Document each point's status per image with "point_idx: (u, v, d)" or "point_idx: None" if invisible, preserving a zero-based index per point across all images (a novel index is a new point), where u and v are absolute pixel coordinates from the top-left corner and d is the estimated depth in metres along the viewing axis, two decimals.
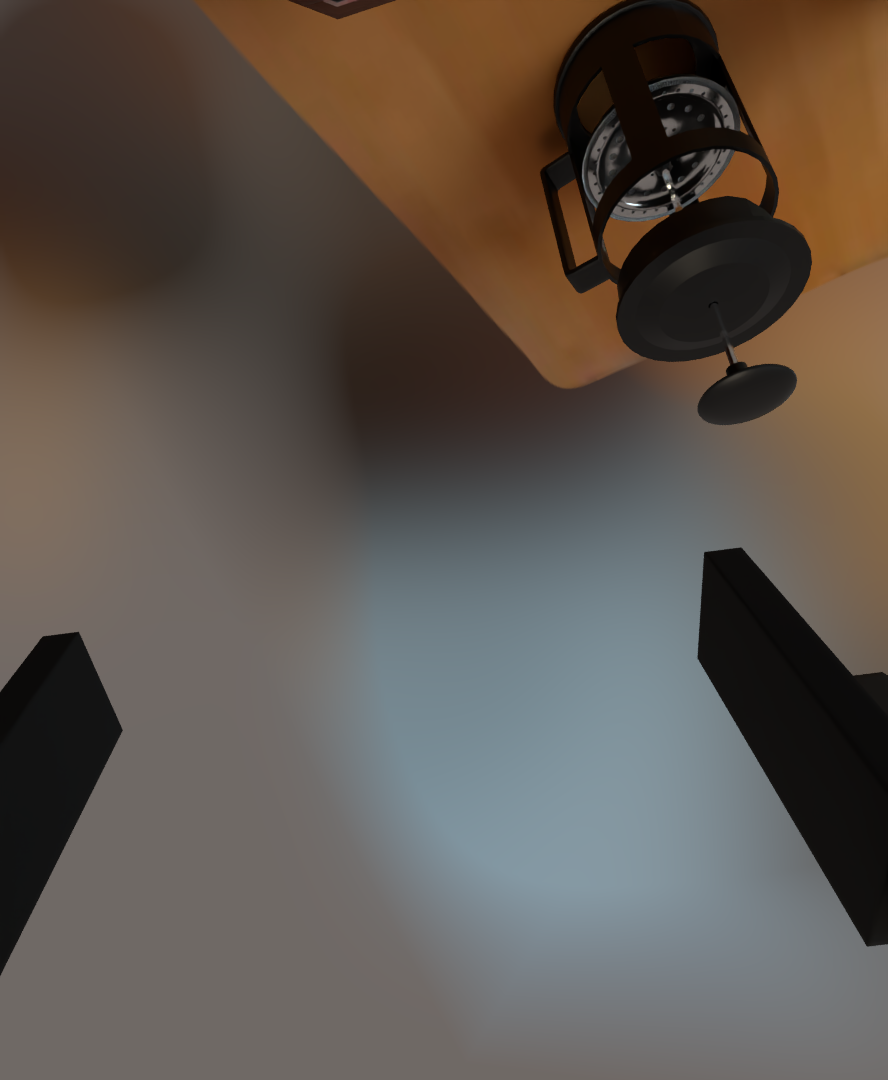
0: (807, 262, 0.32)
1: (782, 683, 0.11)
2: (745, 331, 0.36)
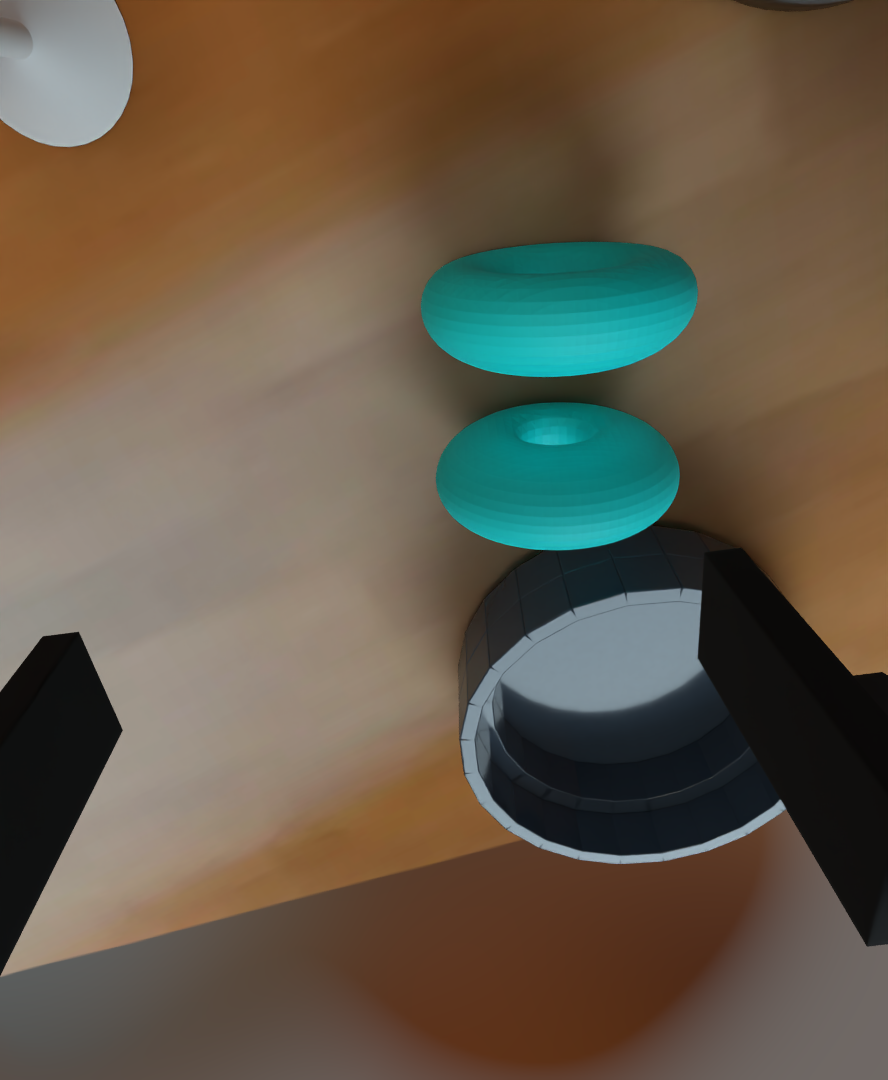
0: None
1: (782, 683, 0.11)
2: None
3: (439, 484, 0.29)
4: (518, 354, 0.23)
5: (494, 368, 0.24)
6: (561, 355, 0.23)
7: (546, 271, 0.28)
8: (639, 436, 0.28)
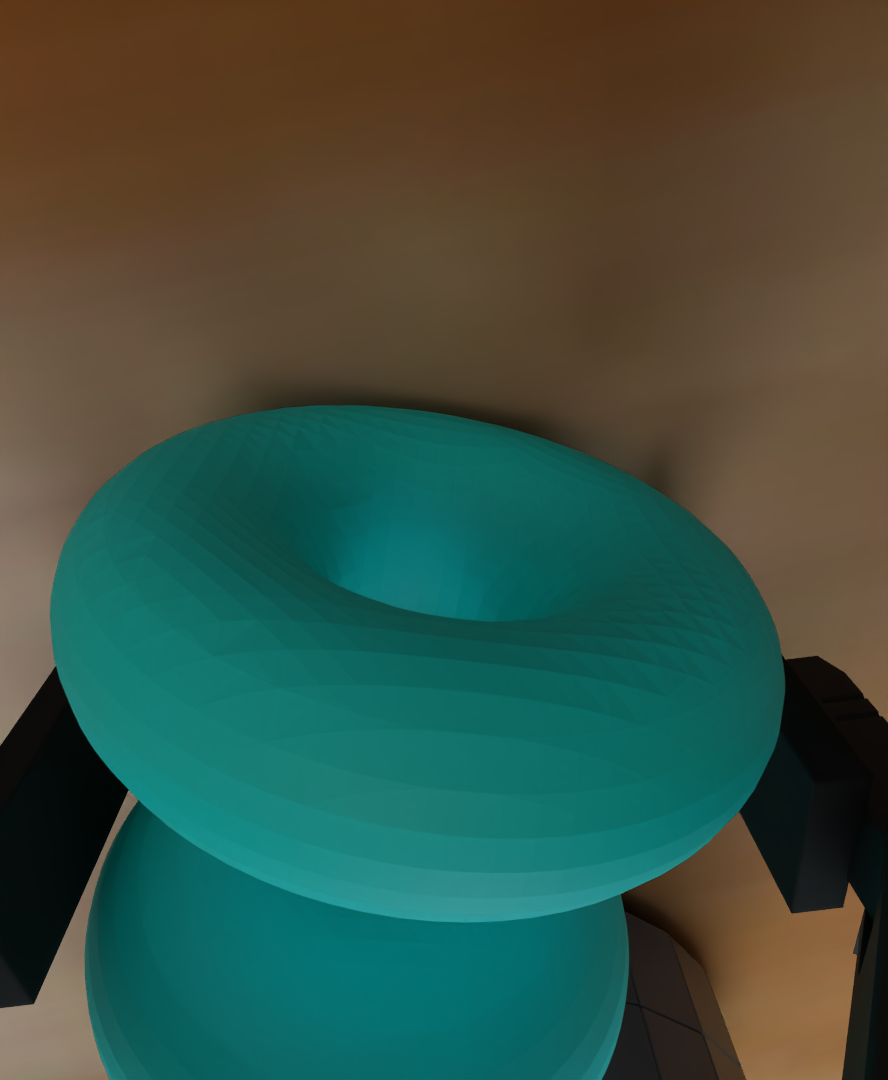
0: None
1: None
2: None
3: (89, 919, 0.12)
4: (254, 874, 0.07)
5: None
6: (391, 915, 0.07)
7: (429, 488, 0.12)
8: None
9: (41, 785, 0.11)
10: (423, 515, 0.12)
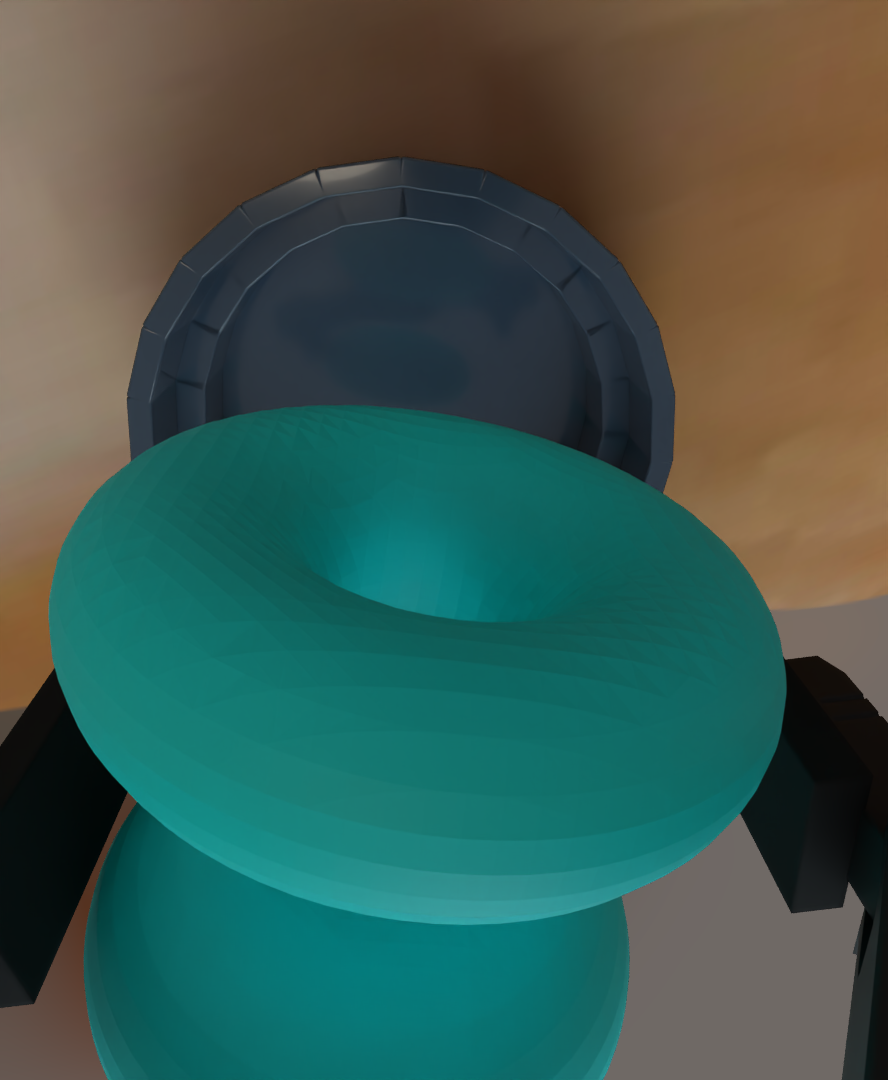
0: None
1: None
2: None
3: (88, 920, 0.12)
4: (253, 876, 0.07)
5: None
6: (391, 917, 0.07)
7: (429, 488, 0.12)
8: None
9: (41, 785, 0.11)
10: (423, 515, 0.12)
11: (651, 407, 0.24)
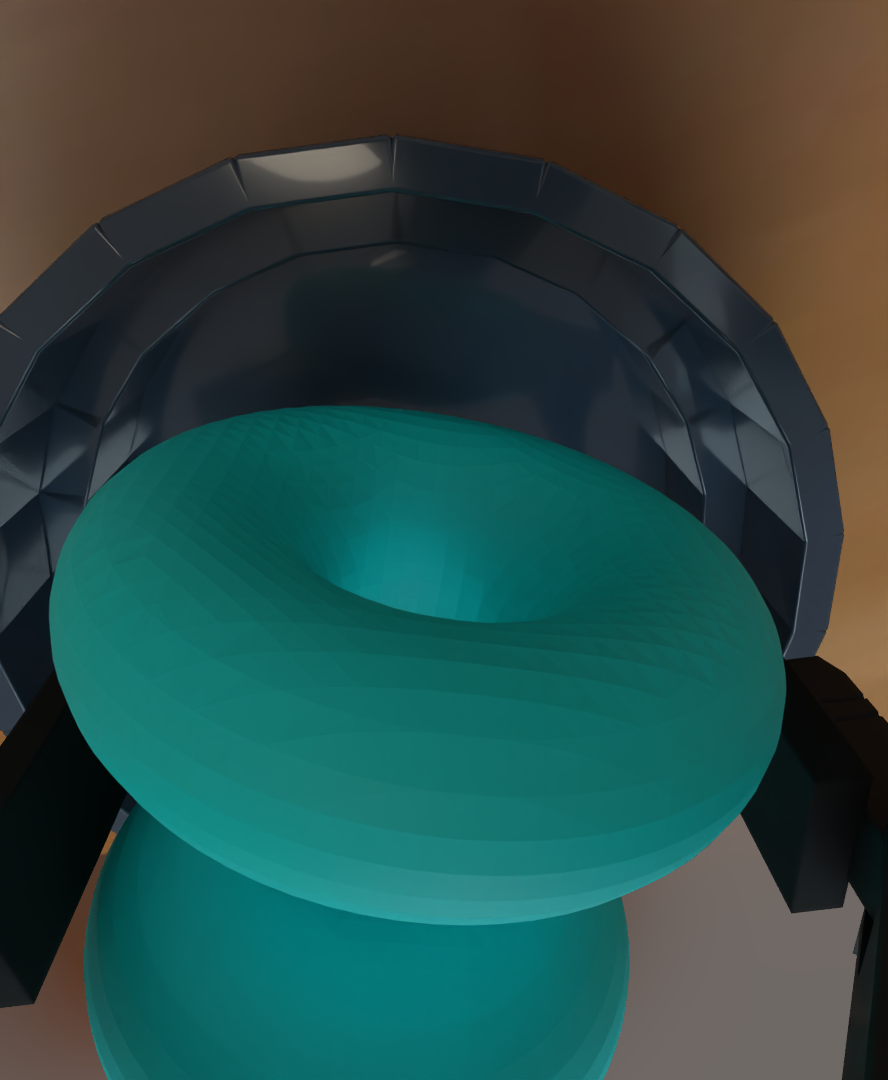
0: None
1: None
2: None
3: (88, 921, 0.12)
4: (253, 877, 0.07)
5: None
6: (391, 917, 0.07)
7: (429, 489, 0.12)
8: None
9: (41, 785, 0.11)
10: (423, 515, 0.12)
11: (803, 552, 0.15)
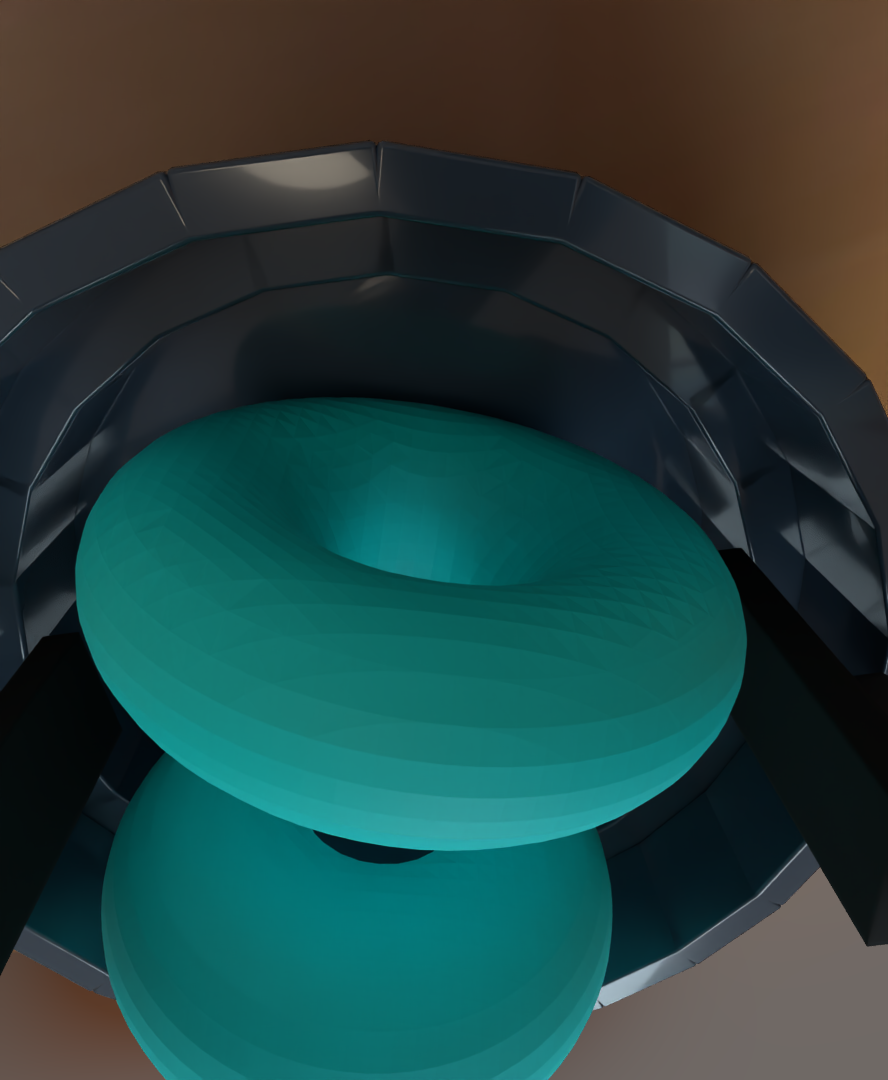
0: None
1: (782, 683, 0.11)
2: None
3: (104, 879, 0.13)
4: (262, 807, 0.08)
5: None
6: (385, 842, 0.08)
7: (422, 474, 0.13)
8: (549, 858, 0.13)
9: None
10: (416, 499, 0.13)
11: (886, 651, 0.12)
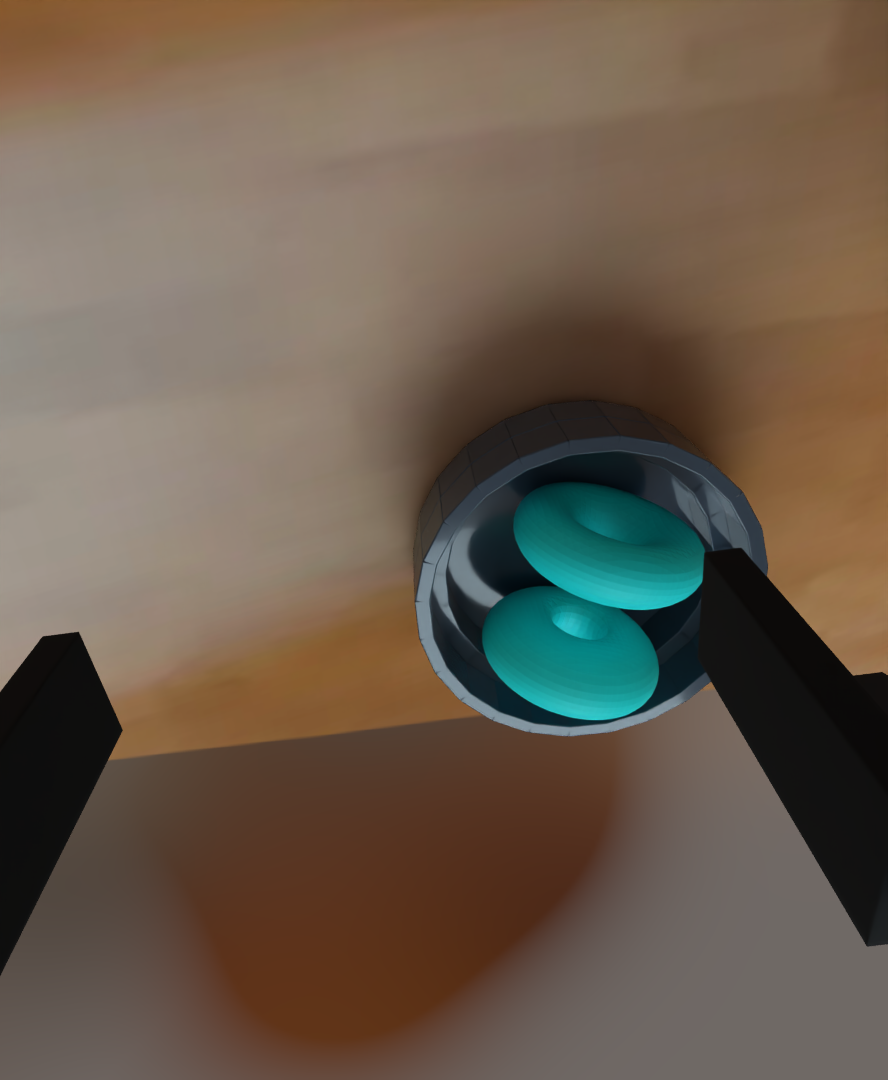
0: None
1: (782, 683, 0.11)
2: None
3: (490, 644, 0.38)
4: (592, 593, 0.33)
5: (567, 591, 0.34)
6: (621, 601, 0.33)
7: (601, 511, 0.38)
8: (639, 643, 0.38)
9: None
10: (599, 519, 0.38)
11: None
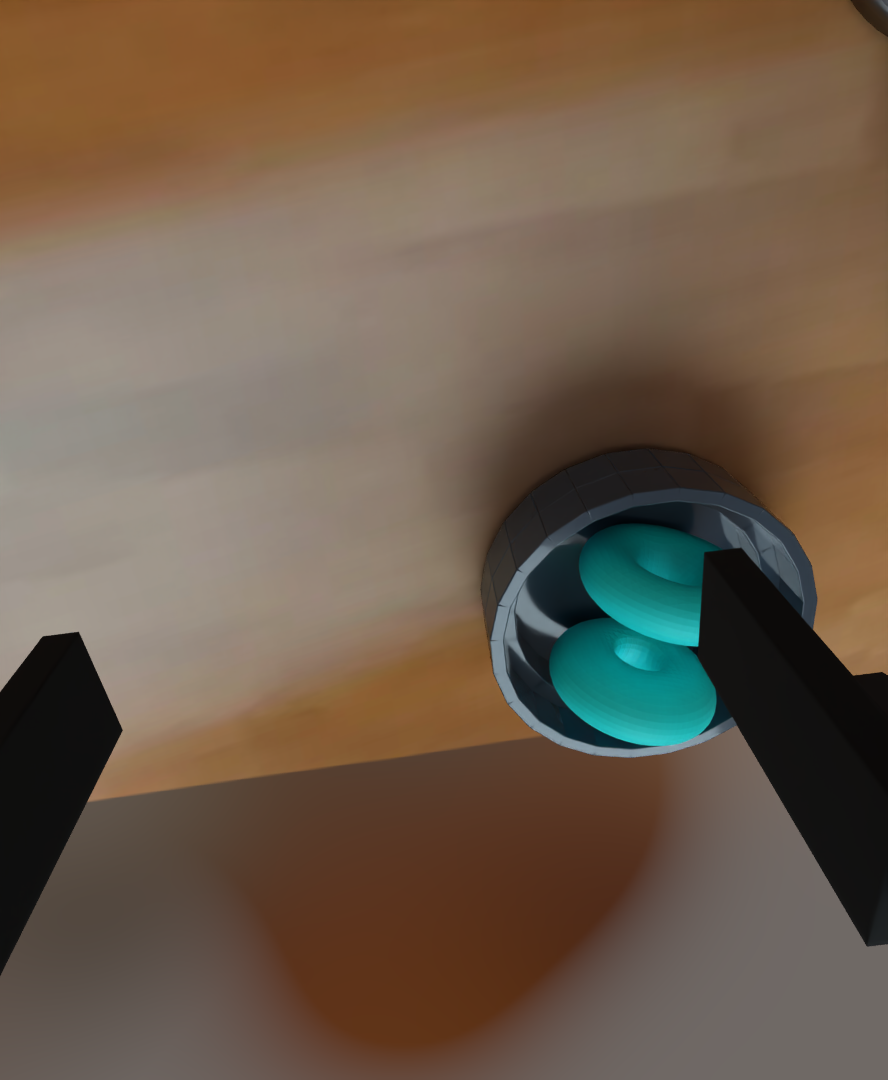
0: None
1: (782, 683, 0.11)
2: None
3: (559, 677, 0.41)
4: (659, 633, 0.36)
5: (634, 630, 0.37)
6: (686, 640, 0.36)
7: (658, 551, 0.41)
8: (698, 672, 0.41)
9: None
10: (657, 558, 0.41)
11: (802, 606, 0.40)
